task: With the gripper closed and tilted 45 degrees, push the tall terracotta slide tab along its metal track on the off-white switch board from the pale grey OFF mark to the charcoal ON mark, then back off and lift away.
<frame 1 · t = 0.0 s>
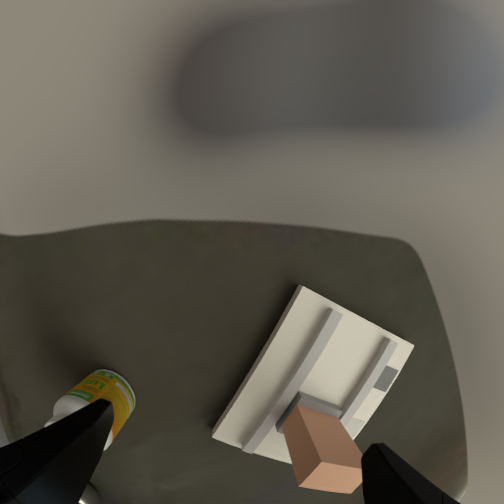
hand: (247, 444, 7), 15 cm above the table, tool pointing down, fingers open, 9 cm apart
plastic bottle: (84, 485, 21), on the table
slide tab: (320, 443, 17), point 6 cm above the table, slide at 0.0 cm
supplement bottle: (112, 391, 22), on the table
switch board: (315, 391, 23), on the table
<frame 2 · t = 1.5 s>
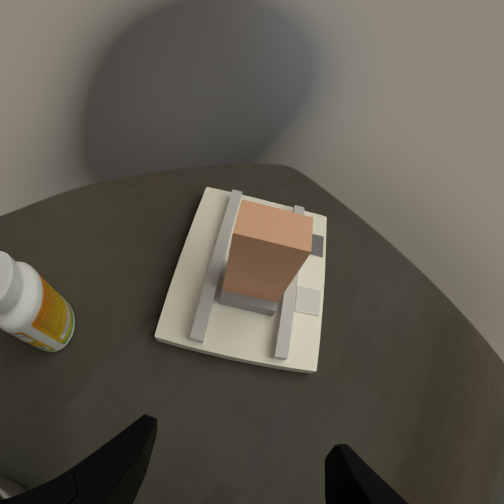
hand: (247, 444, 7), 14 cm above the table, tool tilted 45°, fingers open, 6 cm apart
slide tab: (260, 262, 20), point 6 cm above the table, slide at 0.0 cm
supplement bottle: (53, 325, 20), on the table
switch board: (251, 275, 26), on the table
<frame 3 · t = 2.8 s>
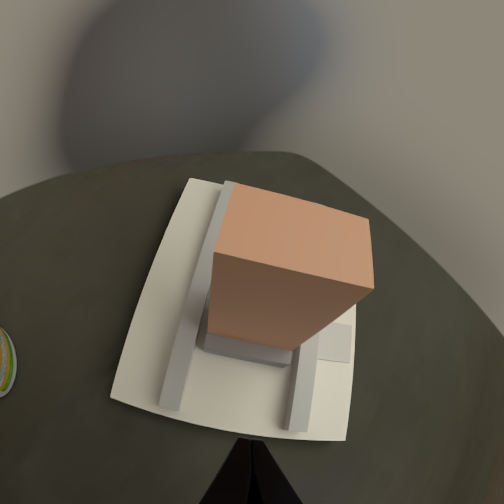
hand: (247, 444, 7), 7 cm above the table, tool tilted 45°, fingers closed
slide tab: (268, 295, 11), point 6 cm above the table, slide at 0.0 cm
switch board: (252, 303, 18), on the table
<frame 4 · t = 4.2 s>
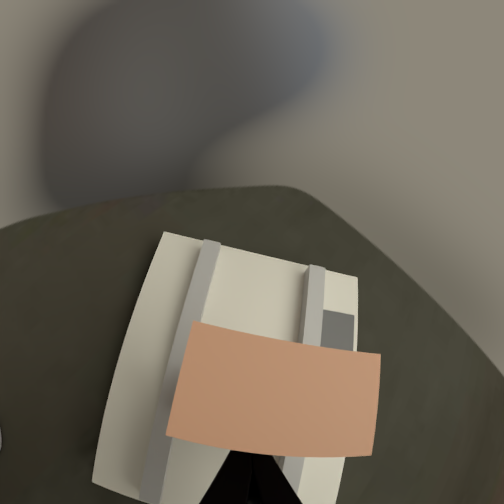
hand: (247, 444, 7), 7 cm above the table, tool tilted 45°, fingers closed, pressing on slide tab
slide tab: (251, 402, 9), point 6 cm above the table, slide at 1.0 cm, touching gripper
switch board: (236, 387, 14), on the table
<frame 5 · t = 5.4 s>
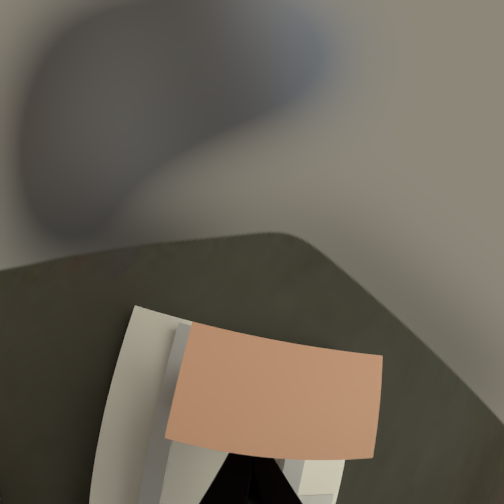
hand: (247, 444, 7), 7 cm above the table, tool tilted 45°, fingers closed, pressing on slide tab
slide tab: (251, 403, 9), point 6 cm above the table, slide at 6.2 cm, touching gripper
switch board: (220, 469, 12), on the table
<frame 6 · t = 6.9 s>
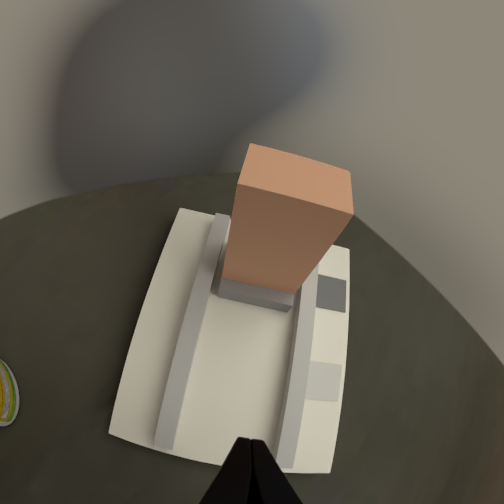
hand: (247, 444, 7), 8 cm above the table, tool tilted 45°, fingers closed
slide tab: (274, 238, 14), point 6 cm above the table, slide at 6.0 cm
switch board: (243, 341, 17), on the table
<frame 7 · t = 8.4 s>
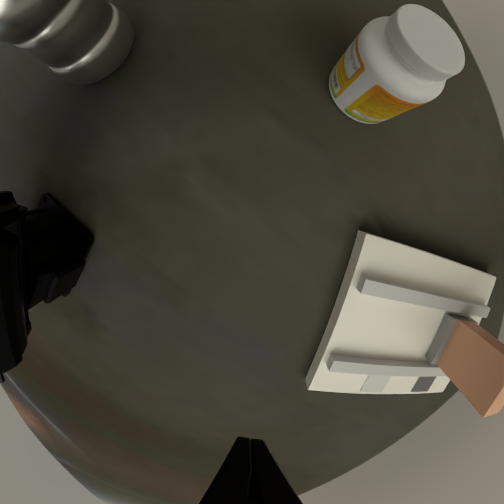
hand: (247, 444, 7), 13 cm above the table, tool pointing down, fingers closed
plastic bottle: (106, 56, 16), on the table
slide tab: (476, 361, 15), point 6 cm above the table, slide at 6.0 cm
supplement bottle: (361, 92, 17), on the table
switch board: (411, 325, 21), on the table
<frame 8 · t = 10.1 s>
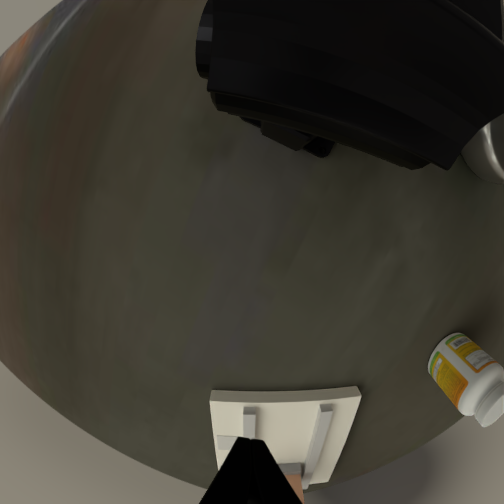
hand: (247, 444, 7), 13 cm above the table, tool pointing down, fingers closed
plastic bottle: (472, 146, 17), on the table
slide tab: (280, 503, 19), point 6 cm above the table, slide at 6.0 cm
supplement bottle: (446, 353, 22), on the table
switch board: (280, 443, 24), on the table
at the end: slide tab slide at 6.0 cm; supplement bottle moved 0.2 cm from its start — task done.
